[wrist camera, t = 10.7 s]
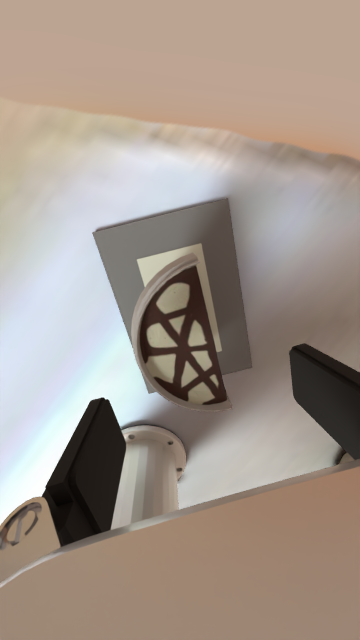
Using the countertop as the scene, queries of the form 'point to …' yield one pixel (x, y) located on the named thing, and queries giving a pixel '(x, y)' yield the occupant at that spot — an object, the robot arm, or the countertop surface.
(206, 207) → the mat
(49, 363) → the countertop surface
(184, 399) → the food container
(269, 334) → the countertop surface
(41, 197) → the countertop surface
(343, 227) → the countertop surface
